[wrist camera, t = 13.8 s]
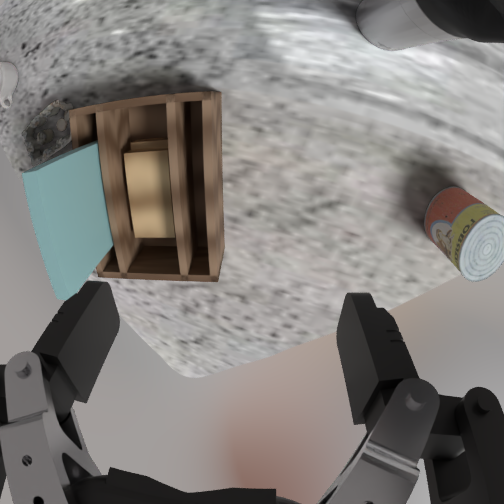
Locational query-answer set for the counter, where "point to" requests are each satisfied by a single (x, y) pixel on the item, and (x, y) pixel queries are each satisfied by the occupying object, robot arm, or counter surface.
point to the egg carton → (46, 132)
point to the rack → (182, 183)
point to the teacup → (7, 82)
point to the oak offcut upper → (150, 192)
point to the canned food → (466, 232)
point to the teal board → (69, 216)
